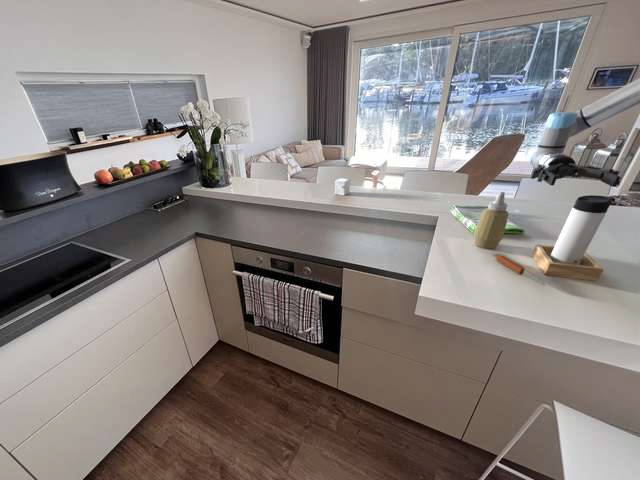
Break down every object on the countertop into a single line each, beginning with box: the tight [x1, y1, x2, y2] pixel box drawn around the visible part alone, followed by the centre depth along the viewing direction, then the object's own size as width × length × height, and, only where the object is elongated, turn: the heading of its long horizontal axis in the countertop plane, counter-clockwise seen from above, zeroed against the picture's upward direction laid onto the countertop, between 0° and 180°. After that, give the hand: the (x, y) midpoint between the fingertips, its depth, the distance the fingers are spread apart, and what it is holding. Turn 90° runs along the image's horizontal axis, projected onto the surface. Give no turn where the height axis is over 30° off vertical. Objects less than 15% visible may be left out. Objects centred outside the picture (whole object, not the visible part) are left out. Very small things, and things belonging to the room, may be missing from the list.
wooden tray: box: [531, 244, 605, 282], centre depth 81 cm, size 12×11×4 cm
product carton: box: [334, 177, 351, 196], centre depth 155 cm, size 6×6×7 cm
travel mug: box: [549, 194, 616, 265], centre depth 77 cm, size 6×7×20 cm
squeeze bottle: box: [473, 191, 509, 250], centre depth 91 cm, size 8×8×18 cm
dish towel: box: [449, 204, 525, 235], centre depth 111 cm, size 17×23×4 cm
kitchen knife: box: [495, 255, 546, 287], centre depth 80 cm, size 16×1×2 cm, turn 7°
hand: (584, 181), depth 81 cm, fingers open, 13 cm apart
